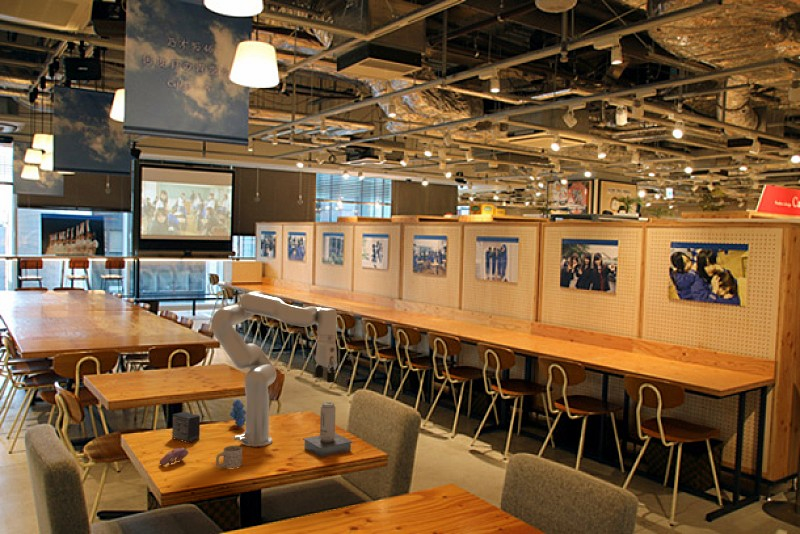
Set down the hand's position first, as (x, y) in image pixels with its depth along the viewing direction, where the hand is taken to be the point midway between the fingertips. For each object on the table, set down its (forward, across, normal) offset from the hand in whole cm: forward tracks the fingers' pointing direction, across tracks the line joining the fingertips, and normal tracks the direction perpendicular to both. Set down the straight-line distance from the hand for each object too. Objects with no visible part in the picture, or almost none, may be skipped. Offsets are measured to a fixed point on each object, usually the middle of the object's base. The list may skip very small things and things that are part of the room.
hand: (324, 379), depth 262 cm
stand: (+28, -4, 0) cm, 28 cm away
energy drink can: (+24, -3, 0) cm, 25 cm away
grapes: (+29, +46, +19) cm, 58 cm away
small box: (+29, +39, +44) cm, 66 cm away
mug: (+29, -2, +41) cm, 50 cm away
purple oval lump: (+29, +13, +56) cm, 65 cm away
